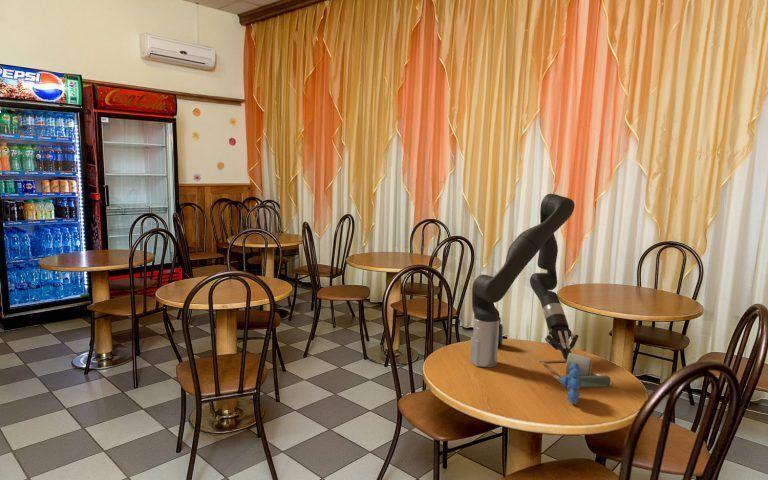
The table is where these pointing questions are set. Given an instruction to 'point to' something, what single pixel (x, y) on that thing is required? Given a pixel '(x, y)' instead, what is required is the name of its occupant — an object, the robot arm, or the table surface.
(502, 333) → the supplement bottle
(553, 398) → the table surface
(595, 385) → the bay
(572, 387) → the grapes
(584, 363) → the ceramic mug
